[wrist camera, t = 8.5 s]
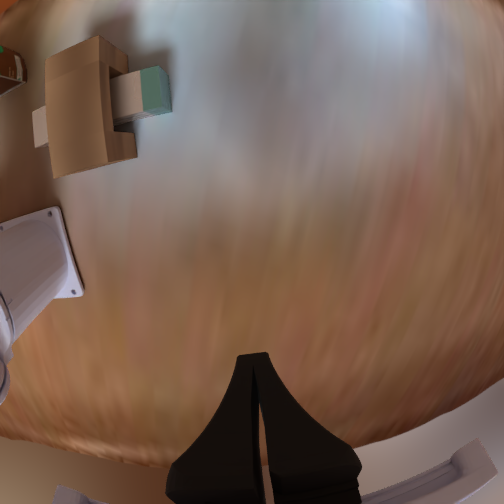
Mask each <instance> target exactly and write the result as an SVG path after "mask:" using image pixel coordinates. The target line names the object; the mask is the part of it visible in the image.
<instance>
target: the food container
mask: <svg viewBox="0 0 504 504" xmlns="http://www.w3.org/2000/svg"><path fill="white" fill-rule="evenodd" d="M26 82H27V70H26V66H25V62H24V59H23V58H22V57H21V56H20V54H19V53H17V52H15V51H12V50H10V49H8V48H5V47H3V46H0V97H2V96H3V95H5V94H7V93H8V92H10V91H12V90H13V89H15V88H17V87H19V86H21V85H23V84H24V83H26Z"/></svg>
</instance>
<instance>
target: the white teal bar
mask: <svg viewBox="0 0 504 504" xmlns="http://www.w3.org/2000/svg"><path fill="white" fill-rule="evenodd" d="M109 83H110V98H111V110H112V120H113V126H116V125H120V124H123V123H127V122H131V121H135V120H139V119H143V118H147V117H151V116H155V115H160V114H165V113H170V112H172V107H171V97H170V87H169V76H168V75H167V74H166V72H165V71H164V70H163V69H162V68H161V67H160V66H159V65H158V66H154V67H150V68H146V69H142V70H138V71H135V72H131V73H128V74H125V75H121V76H118V77H115V78H112V79H109ZM32 118H33V133H34V143H35V148H39V147H49V143H48V133H47V122H46V105H45V106H43V107H41V108H39V109H37V110H35V111H33V112H32Z"/></svg>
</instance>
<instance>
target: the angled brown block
mask: <svg viewBox="0 0 504 504" xmlns="http://www.w3.org/2000/svg"><path fill="white" fill-rule="evenodd" d="M125 74H128V56H127V55H126V54H124V53H123V52H122V51H120V50H119V49H118V48H116V47H115V46H114V45H112V44H111V43H110V42H108V41H107V40H105V39H104V38H103V37H101V36H100V35H97V36H95V37H92V38H90V39H88V40H85V41H83V42H81V43H78V44H76V45H74V46H72V47H70V48H67V49H65V50H63V51H61V52H59V53H57V54H55V55H53V56H51V57H50V58H48V59H46V60H45V105H46V122H47V133H48V143H49V151H50V159H51V166H52V172H53V178H54V179H55V178H59V177H63V176H66V175H70V174H74V173H78V172H82V171H86V170H90V169H94V168H98V167H101V166H105V165H109V164H113V163H116V162H120V161H125V160H129V159H133V158H137V152H136V144H135V137H134V133H127V132H114V129H113V120H112V110H111V98H110V83H109V79H112V78H115V77H118V76H121V75H125Z"/></svg>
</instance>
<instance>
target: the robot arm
mask: <svg viewBox="0 0 504 504" xmlns="http://www.w3.org/2000/svg"><path fill="white" fill-rule="evenodd" d="M50 211H51V212H52V216H51V214H50ZM74 290H75V291H76V292H74ZM83 294H84V288H83V285H82V283H81V280H80V277H79V274H78V271H77V268H76V265H75V262H74V258H73V255H72V252H71V248H70V245H69V241H68V238H67V234H66V230H65V226H64V223H63V218H62V214H61V210H60V208H59V207H58V206H53V207H50V208H46V209H43V210H40V211H36V212H33V213H30V214H27V215H24V216H21V217H17V218H14V219H11V220H9V221H6V222H3V223H0V405H1V404H2V402H3V401H4V399H5V397H6V395H7V393H8V390H9V386H10V375H9V371H8V368H7V366H6V365H7V364H8V363H9V361H10V360H11V359H12V357H13V353H12V349H11V346H12V344H13V343H14V342H15V341H16V339H17V338H18V337H19V336H20V335H21V334H22V332H23V331H24V330H25V329H26V328H27V327H28V325H29V324H30V323H31V322H32V321H33V320H34V319H35V318H36V317H37V315H38V314H39V313H40V312H41V311H42V310H43V309H44V308H45V307H46V306H47V305H48V304H49V302H50V301H51V300H52V299H54V298H68V297H80V296H82V295H83ZM259 403H260V408H261V412H262V417H263V421H264V426H265V435H266V444H267V454H268V465H269V472H270V477H271V483H272V488H273V495H274V503H275V504H459V503H460V502H462V501H464V500H465V499H467V498H468V497H470V496H471V495H473V494H474V493H475V492H477V491H478V490H479V489H481V488H482V487H483V486H485V485H486V484H487V483H488V482H489V481H491V480H492V479H493V478H494V477H495V476H497V475H498V471H497V469H496V467H495V465H494V464H493V462H492V460H491V458H490V457H489V455H488V453H487V452H486V450H485V448H484V446H483V445H482V443H481V442H480V440H479V438H476V439H475V440H473V441H471V442H470V443H468V444H467V445H465V446H464V447H462V448H460V449H459V450H457V451H456V452H455V453H454V454H453V455H452V457H451V458H450V459H449V460H447V461H445V462H443V463H441V464H439V465H437V466H435V467H433V468H431V469H429V470H427V471H425V472H423V473H421V474H418V475H416V476H414V477H412V478H409V479H407V480H405V481H403V482H400V483H397V484H395V485H392V486H390V487H387V488H384V489H381V490H379V491H376V492H373V493H370V494H366V495H363V496H360V493H359V490H358V487H359V483H358V480H357V477H358V475H359V473H360V471H361V469H362V465H361V462H360V460H359V458H358V456H357V455H356V453H355V452H354V450H353V449H352V447H351V446H350V445H349V444H347V443H345V442H344V441H342V440H341V439H339V438H338V437H336V436H335V435H333V434H332V433H330V432H329V431H328V430H326V429H325V428H324V427H323V426H321V425H320V424H319V423H318V422H317V421H316V420H314V419H313V418H312V417H311V416H310V415H309V414H308V413H307V412H306V411H305V410H304V409H303V408H302V407H301V406H300V405H299V403H298V402H297V401H296V400H295V399H294V397H293V396H292V395H291V394H290V392H289V391H288V390H287V388H286V387H285V385H284V384H283V382H282V381H281V379H280V378H279V376H278V374H277V373H276V371H275V369H274V367H273V365H272V363H271V360H270V358H269V354H268V353H267V352H261V353H253V354H245V355H239V356H238V357H237V361H236V365H235V369H234V372H233V375H232V378H231V381H230V384H229V386H228V389H227V391H226V393H225V395H224V397H223V399H222V402H221V404H220V405H219V407H218V409H217V411H216V413H215V414H214V416H213V418H212V419H211V421H210V422H209V424H208V425H207V426H206V428H205V429H204V431H203V432H202V433H201V434H200V436H199V437H198V438H197V439H196V440H195V442H194V443H193V444H192V445H191V446H190V447H189V448H188V449H187V450H186V451H185V452H184V453H183V454H182V455H181V456H180V457H179V458H178V459H177V460H176V461H175V462H173V463H172V465H171V468H170V470H169V474H168V477H167V482H166V492H165V494H166V495H167V497H168V498H169V499H171V500H172V501H173V502H174V503H176V504H266V499H265V491H264V484H263V476H262V466H261V457H260V448H259ZM52 504H108V503H104V502H100V501H97V500H93V499H90V498H88V497H87V496H86V495H84V494H82V493H80V492H79V491H76V490H74V489H71V488H68V487H65V486H62V485H58V486H57V489H56V492H55V495H54V499H53V502H52Z"/></svg>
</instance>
